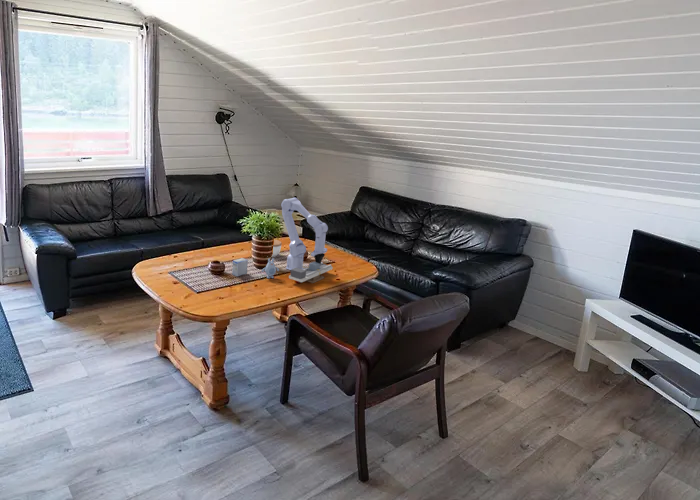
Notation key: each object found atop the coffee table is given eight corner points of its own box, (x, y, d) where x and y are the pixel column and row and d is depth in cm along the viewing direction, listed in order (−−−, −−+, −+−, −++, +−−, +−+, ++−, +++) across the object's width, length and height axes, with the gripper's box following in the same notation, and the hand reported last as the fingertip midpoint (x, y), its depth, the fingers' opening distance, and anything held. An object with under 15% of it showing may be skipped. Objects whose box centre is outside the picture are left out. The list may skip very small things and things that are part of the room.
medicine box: (241, 271, 302) (242, 257, 299) (247, 273, 299) (248, 259, 297) (231, 274, 295) (232, 260, 293) (237, 276, 293) (237, 262, 290)
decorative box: (270, 259, 328) (271, 243, 325) (257, 254, 335) (258, 238, 332) (284, 256, 338) (285, 240, 334) (271, 251, 345) (272, 235, 341)
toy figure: (262, 280, 291) (263, 260, 288) (259, 276, 297) (260, 256, 293) (280, 279, 296) (281, 259, 293) (277, 275, 302) (278, 256, 298)
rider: (308, 269, 303) (309, 263, 302) (313, 267, 307) (314, 261, 306) (314, 271, 301) (315, 265, 300) (319, 269, 305) (320, 263, 304)
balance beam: (287, 282, 292) (288, 268, 290) (318, 269, 319) (319, 256, 316) (302, 287, 287) (303, 273, 284) (333, 274, 314) (334, 261, 311)
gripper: (318, 247, 295) (316, 269, 298) (332, 242, 307) (330, 264, 311) (308, 244, 298) (306, 266, 302) (322, 240, 310) (320, 261, 314)
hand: (318, 265), depth 306 cm, fingers closed
